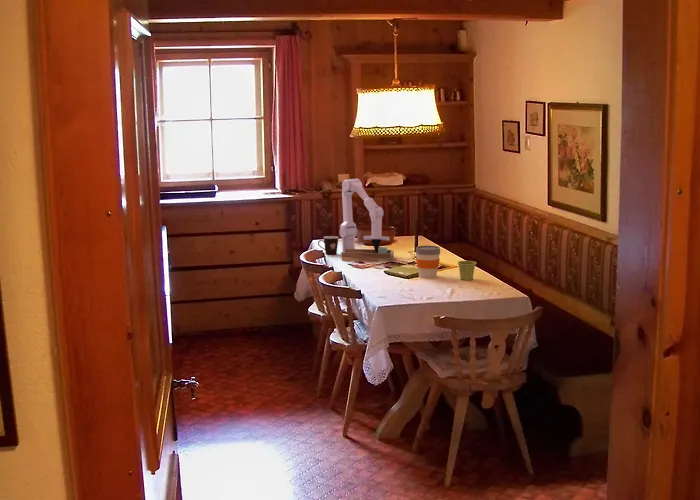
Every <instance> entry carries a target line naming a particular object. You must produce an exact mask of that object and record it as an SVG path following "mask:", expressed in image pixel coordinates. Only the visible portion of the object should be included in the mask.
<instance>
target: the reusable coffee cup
mask: <svg viewBox="0 0 700 500" xmlns="http://www.w3.org/2000/svg"><path fill="white" fill-rule="evenodd" d="M415 254H416V257H415V258H416V259H415V260H416V261H415V262H416V268H417V271H418V277H419V278H420V279H421V278H423V279H434V278H437V273H438V268H439V267H440V266H439V265H440V260H441V259H440V255H441V248H440V246H436V245H418V246H416V248H415Z"/></svg>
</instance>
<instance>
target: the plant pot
mask: <svg viewBox="0 0 700 500" xmlns="http://www.w3.org/2000/svg"><path fill="white" fill-rule="evenodd" d="M457 264H458V267H459V268H458V269H459V276H460V280H462V281H463V280H464V281H471V280H473V279H474V275H475V274H474V273H475V272H474V271H475V267H476V266H477V262H476V261H473V260H461V261H459V260H458V261H457Z"/></svg>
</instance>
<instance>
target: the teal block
mask: <svg viewBox="0 0 700 500" xmlns="http://www.w3.org/2000/svg"><path fill="white" fill-rule="evenodd" d="M378 250H379V251H378V253H385V254H387V250H388V246H379V248H378Z"/></svg>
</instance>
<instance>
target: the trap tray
mask: <svg viewBox="0 0 700 500" xmlns="http://www.w3.org/2000/svg"><path fill="white" fill-rule="evenodd" d="M378 251H379V249H378ZM341 252H342V251H341ZM394 254H395V251H394V249H387V254H385V253H375V249H372V248H371V249H369V248H367V249H366V248H355V249H345V252H342V254H341V261H344V262H345V261H346V262H350V261H351V262H352V261H353V262H375V261H391V262H392V261H393V260H394V257H395V256H394Z"/></svg>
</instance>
